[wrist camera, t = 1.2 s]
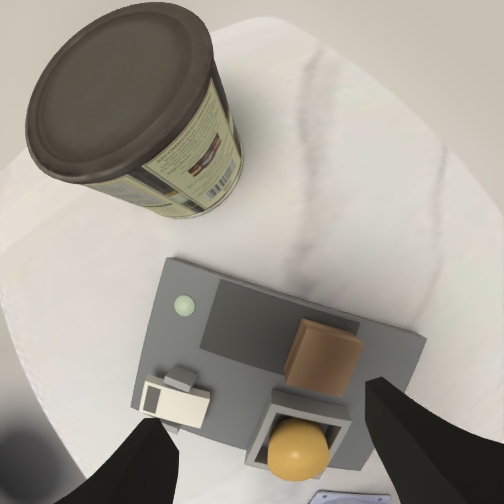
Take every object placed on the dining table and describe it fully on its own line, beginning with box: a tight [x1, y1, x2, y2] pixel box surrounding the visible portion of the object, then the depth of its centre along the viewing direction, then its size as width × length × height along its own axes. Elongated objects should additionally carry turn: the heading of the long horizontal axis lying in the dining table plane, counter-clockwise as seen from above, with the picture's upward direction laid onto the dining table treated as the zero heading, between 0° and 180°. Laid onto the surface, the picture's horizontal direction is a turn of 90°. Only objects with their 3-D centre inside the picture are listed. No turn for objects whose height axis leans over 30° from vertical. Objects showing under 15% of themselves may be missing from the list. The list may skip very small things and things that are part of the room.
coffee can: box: [25, 2, 243, 219], centre depth 17 cm, size 10×10×14 cm
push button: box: [268, 417, 330, 481], centre depth 18 cm, size 4×4×3 cm
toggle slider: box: [284, 318, 364, 398], centre depth 19 cm, size 4×4×3 cm
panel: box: [131, 258, 427, 479], centre depth 21 cm, size 22×14×4 cm, turn 72°
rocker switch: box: [139, 374, 210, 428], centre depth 21 cm, size 5×3×1 cm, turn 72°
